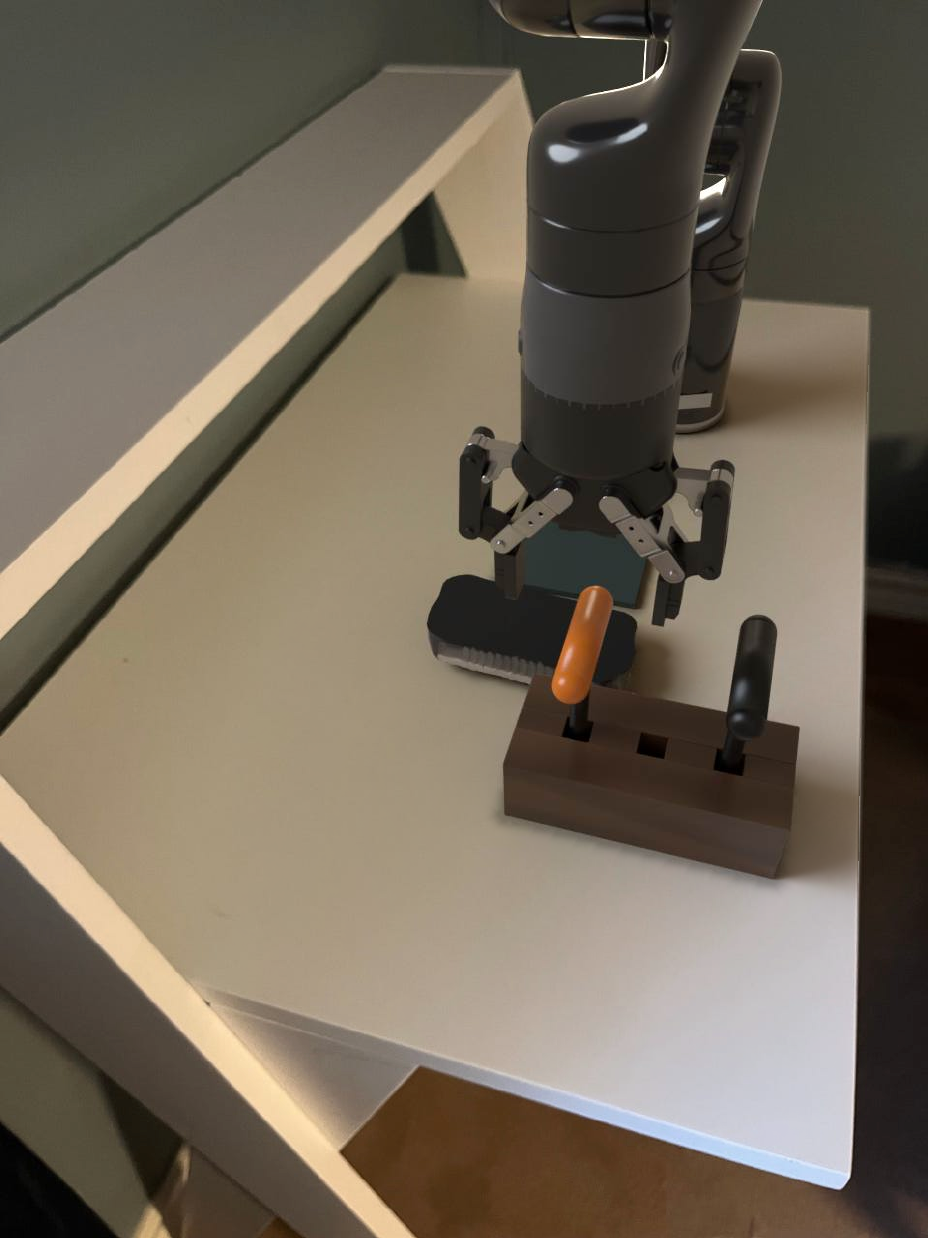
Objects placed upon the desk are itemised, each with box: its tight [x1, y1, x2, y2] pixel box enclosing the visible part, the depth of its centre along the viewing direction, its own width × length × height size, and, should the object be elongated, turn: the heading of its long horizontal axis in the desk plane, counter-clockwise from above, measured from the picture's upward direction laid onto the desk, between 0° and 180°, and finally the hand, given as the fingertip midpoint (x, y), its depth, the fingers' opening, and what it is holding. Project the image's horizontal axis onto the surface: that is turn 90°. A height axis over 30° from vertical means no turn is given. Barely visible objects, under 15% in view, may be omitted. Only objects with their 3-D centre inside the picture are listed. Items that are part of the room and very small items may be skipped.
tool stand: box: [502, 673, 801, 879], centre depth 66 cm, size 8×18×6 cm, turn 73°
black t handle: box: [718, 614, 778, 775], centre depth 61 cm, size 9×2×16 cm, turn 163°
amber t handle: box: [552, 586, 614, 742], centre depth 63 cm, size 9×2×16 cm, turn 163°
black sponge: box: [426, 573, 638, 691], centre depth 76 cm, size 16×8×4 cm, turn 69°
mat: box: [522, 520, 649, 610], centre depth 86 cm, size 12×12×1 cm
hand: (586, 602), depth 56 cm, fingers open, 8 cm apart
